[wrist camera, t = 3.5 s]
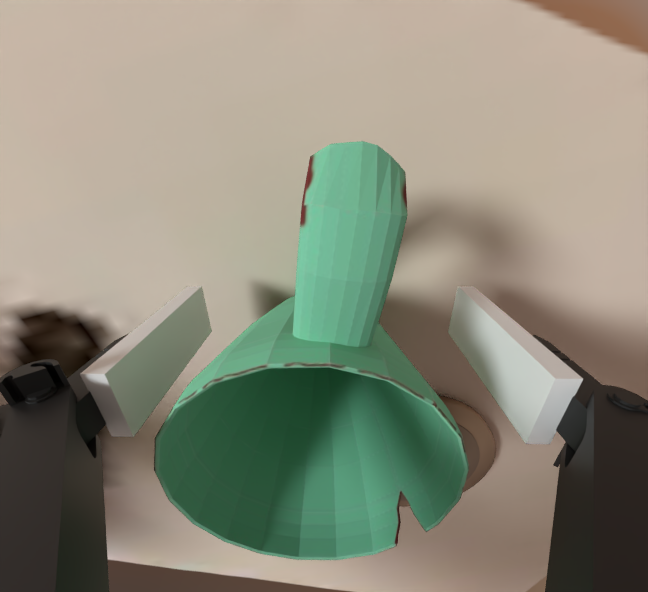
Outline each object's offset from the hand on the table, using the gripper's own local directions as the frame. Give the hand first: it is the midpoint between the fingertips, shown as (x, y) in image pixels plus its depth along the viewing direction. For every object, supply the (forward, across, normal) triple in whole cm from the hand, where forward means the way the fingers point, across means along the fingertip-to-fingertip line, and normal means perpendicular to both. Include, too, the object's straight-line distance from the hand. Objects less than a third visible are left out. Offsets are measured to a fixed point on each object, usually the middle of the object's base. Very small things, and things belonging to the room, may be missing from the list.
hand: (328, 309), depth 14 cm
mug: (+3, 0, 0) cm, 3 cm away
